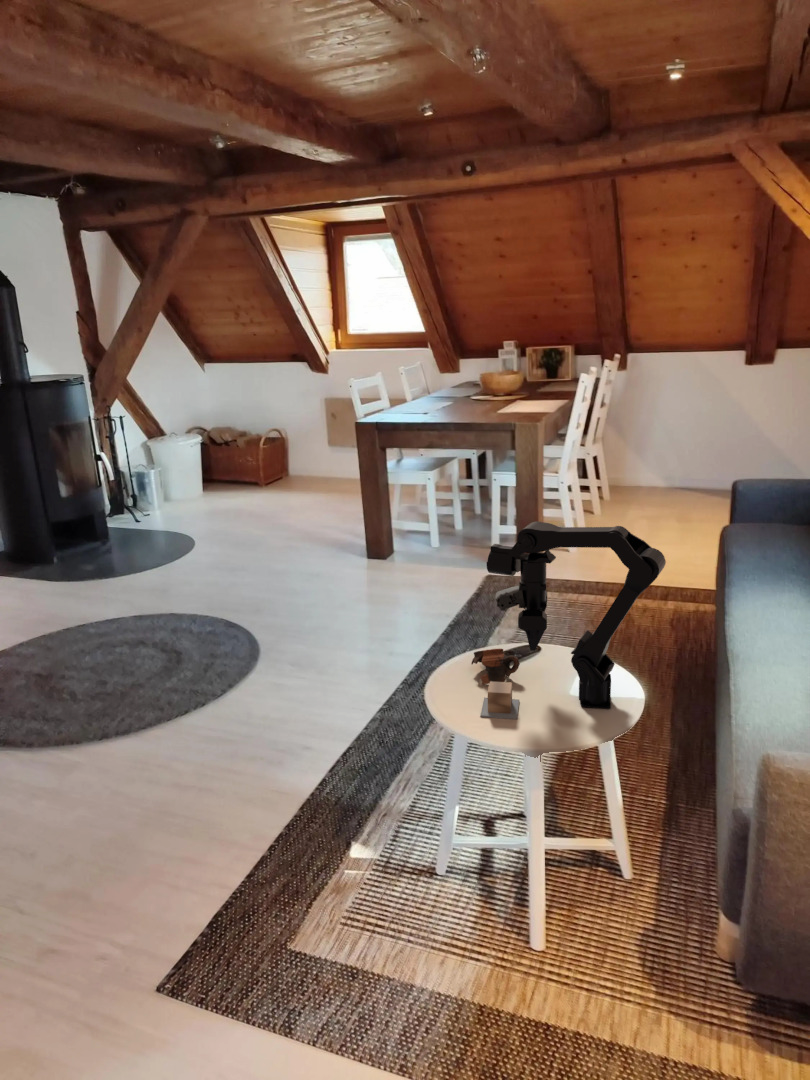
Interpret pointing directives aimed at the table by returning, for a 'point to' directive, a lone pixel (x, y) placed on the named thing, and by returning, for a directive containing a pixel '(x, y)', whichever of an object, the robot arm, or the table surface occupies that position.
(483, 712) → the felt coaster
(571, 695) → the table surface
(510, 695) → the walnut block
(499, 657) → the pottery mug
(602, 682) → the robot arm
